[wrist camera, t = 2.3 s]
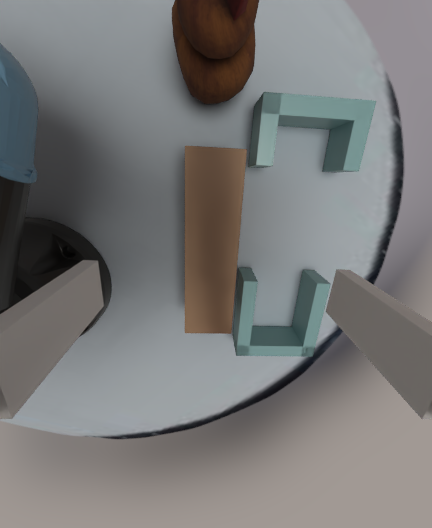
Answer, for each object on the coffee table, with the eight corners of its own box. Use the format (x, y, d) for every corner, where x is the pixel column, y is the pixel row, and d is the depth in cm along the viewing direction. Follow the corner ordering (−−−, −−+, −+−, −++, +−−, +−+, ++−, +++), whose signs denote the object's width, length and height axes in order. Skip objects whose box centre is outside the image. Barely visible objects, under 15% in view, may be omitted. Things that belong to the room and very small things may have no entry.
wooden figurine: (250, 104, 22) (323, -20, 8) (193, 120, 23) (173, 27, 9) (234, 15, 20) (300, -361, 6) (171, 35, 20) (95, -280, 6)
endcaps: (232, 334, 32) (236, 355, 28) (254, 106, 23) (263, 91, 19) (300, 335, 32) (312, 356, 29) (348, 113, 23) (376, 100, 19)
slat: (188, 304, 30) (184, 333, 25) (189, 153, 24) (184, 145, 18) (226, 304, 31) (231, 333, 25) (237, 155, 24) (246, 149, 19)
